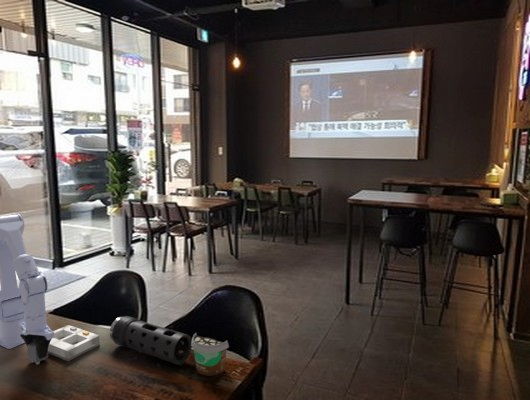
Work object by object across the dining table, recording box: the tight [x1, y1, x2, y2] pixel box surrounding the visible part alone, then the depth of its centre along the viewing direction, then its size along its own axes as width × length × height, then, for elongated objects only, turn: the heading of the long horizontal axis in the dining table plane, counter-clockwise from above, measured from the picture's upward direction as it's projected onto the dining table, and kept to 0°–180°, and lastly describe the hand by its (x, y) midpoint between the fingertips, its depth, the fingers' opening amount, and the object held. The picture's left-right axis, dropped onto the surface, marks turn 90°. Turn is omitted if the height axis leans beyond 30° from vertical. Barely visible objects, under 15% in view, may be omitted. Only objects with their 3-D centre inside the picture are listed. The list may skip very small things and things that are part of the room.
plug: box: [26, 342, 49, 365], centre depth 129 cm, size 4×4×6 cm
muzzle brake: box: [109, 315, 193, 367], centre depth 134 cm, size 10×28×10 cm, turn 61°
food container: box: [191, 332, 230, 377], centre depth 124 cm, size 12×6×10 cm, turn 65°
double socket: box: [48, 324, 101, 362], centre depth 138 cm, size 16×12×4 cm
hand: (38, 355), depth 129 cm, fingers closed on plug, 4 cm apart
